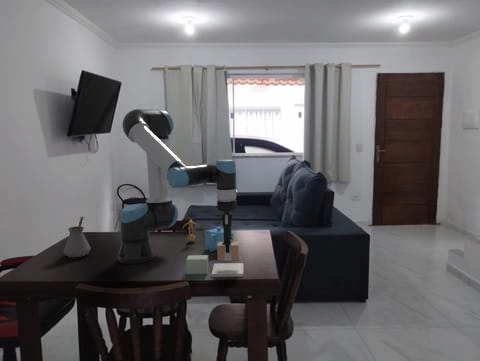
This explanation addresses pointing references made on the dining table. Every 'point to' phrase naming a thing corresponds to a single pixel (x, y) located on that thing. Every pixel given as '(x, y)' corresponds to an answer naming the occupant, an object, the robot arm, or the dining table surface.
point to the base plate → (227, 270)
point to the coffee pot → (76, 242)
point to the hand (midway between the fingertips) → (228, 257)
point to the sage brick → (197, 264)
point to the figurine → (191, 237)
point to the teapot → (214, 238)
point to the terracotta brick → (233, 251)
